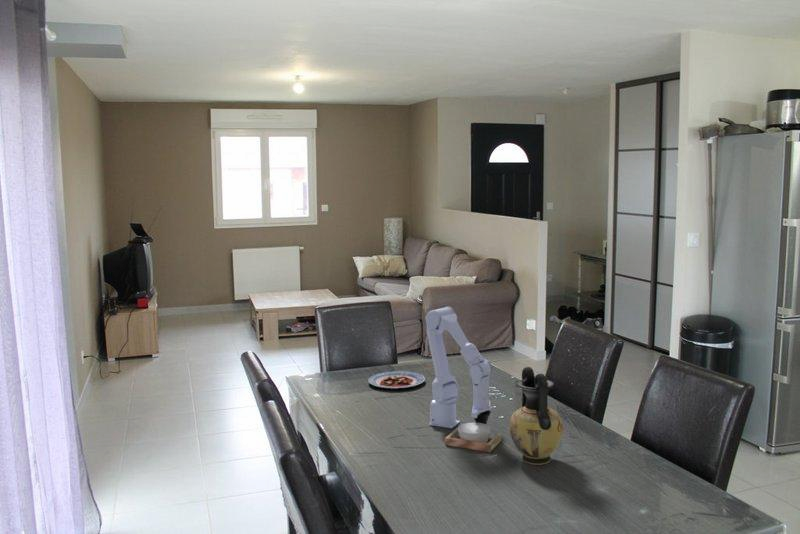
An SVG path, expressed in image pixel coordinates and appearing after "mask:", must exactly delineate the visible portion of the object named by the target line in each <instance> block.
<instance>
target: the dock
mask: <svg viewBox="0 0 800 534" xmlns="http://www.w3.org/2000/svg"><path fill="white" fill-rule="evenodd" d="M458 427H459V426H457V427H456V428H455V429H454V430H452V432H450V433H449V434H448V435H447V436H446V437H444V441H445V443H444V444H445V446H450V447H457V448H460V449H461V448H463V449H469V450H475V451H479V452H486V453H491V451H493V450H494V449H495V448H496V447H497V446H498V444H500V442H501V441H502V433H497V434H495V436H494V437H493V438H491V440H489V441H488V442H487V443H483V442H476V441H470V440H464V439H460V436H459V432H458Z"/></svg>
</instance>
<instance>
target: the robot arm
mask: <svg viewBox="0 0 800 534" xmlns="http://www.w3.org/2000/svg"><path fill="white" fill-rule="evenodd" d="M424 318H425V323H426V336H427V339H428V340H427V341H428V345H429V349H430V354H431V359H432V363H433V369H434V374H435V378H434V380H433V381H432V383H431V386H432V390H431V394H432V400H431V402H430V403H429V404H430V405H429V426H433V427H441V428H446V429H447V428H448V429H454V427H456V426H457V425H458V424H459V423H460V422H461V420H458V419H457V400H458V397H459V396H460V394H461V393H460V392H461V389H460V386H459V384H458V382H457V379H456V377H455V376H454V375H452V374H451V372H450V366H449V362H448V358H447V357H448V356H447V351H446V347H445V342H444V338H443V333H444V331H447V332H449V334H450V335H451V336H452V338H453V339H454V341H455V342H456V343H457V345H458V346H459V347H460V349H459V351H460V354H461V356H462V358H463V359H464V361H465V362H466V364H467V365H468V367H469V370H468V372H469V375H470V377H471V382H472V393H473V394H472V411H471V412H470V417H471V418H472V419H473V418H474V422H475V423H483V424H486V425H487V423H488V420H489V417H490V415H491V411H492V410H493V406H492V401H491V400H490V375H491V374H492V373H493V366H492V364H491V362H490V360H487V359H485V357H483V356H482V354H481V353H480V351H479V350H478V347H477V346H476V345H475V344H474V343H472V342H469V340H468V338H467V337H466V335H465V333H464V331H463V328H462V327H461V326H460V324H459V322H458V316H457V314H456V313H455V311H454V309H453V307H451V306H445V307H442V308H437V309H431V310H429V311H428V312H427V313H426V315H425V317H424Z"/></svg>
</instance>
